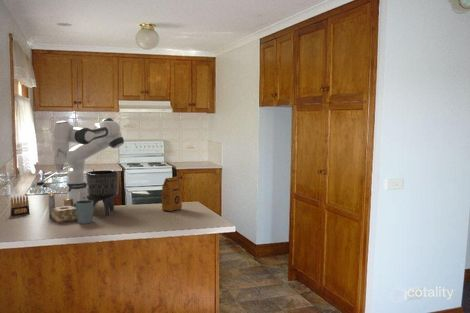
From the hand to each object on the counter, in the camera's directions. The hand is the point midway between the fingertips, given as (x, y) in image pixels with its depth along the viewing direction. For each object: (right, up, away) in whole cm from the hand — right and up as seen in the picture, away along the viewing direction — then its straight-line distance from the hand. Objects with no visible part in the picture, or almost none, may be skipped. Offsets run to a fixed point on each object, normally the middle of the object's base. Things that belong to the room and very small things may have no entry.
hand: (59, 171), depth 254 cm
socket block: (+2, -29, +1) cm, 29 cm away
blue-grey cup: (+16, -30, -3) cm, 34 cm away
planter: (+20, -28, +19) cm, 39 cm away
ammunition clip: (-31, -28, +14) cm, 44 cm away
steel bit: (-8, -28, +7) cm, 30 cm away
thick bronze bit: (0, -28, +13) cm, 31 cm away
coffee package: (+62, -27, +29) cm, 74 cm away
